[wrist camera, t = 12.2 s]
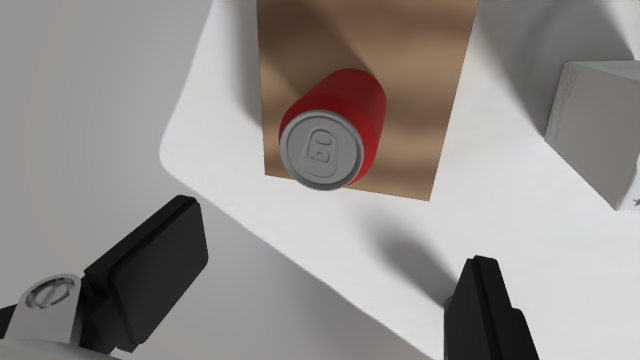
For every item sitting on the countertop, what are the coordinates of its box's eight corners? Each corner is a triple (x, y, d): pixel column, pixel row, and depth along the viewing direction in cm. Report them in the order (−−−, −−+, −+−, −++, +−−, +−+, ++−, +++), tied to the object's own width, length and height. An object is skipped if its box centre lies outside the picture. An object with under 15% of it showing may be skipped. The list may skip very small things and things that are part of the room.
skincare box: (604, 141, 32) (728, 227, 20) (537, 139, 34) (613, 218, 21) (638, 53, 29) (819, 90, 16) (561, 55, 30) (670, 91, 17)
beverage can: (311, 128, 32) (264, 184, 22) (323, 58, 29) (274, 87, 18) (376, 145, 31) (360, 212, 21) (397, 75, 28) (388, 115, 18)
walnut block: (283, -7, 33) (256, -10, 27) (465, 1, 30) (478, -1, 24) (285, 151, 42) (264, 174, 36) (426, 171, 39) (429, 201, 33)
